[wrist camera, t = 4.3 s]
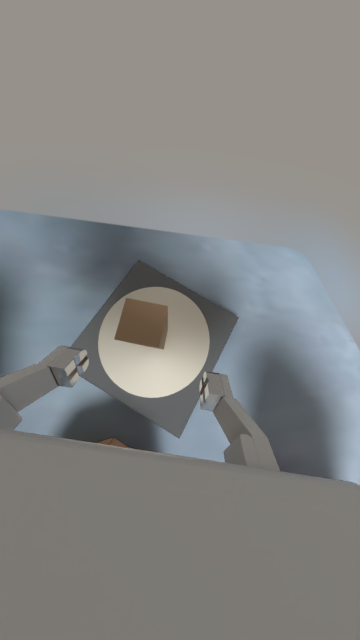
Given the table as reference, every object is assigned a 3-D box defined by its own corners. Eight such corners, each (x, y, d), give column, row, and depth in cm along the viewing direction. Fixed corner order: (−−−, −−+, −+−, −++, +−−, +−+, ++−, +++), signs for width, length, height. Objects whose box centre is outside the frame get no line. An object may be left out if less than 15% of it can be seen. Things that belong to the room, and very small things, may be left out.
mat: (62, 362, 16) (58, 362, 16) (139, 262, 20) (138, 260, 20) (178, 435, 16) (179, 438, 15) (236, 318, 19) (238, 317, 19)
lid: (87, 384, 16) (-47, 439, 6) (119, 281, 19) (65, 205, 9) (199, 403, 16) (247, 483, 6) (213, 300, 19) (259, 248, 9)
